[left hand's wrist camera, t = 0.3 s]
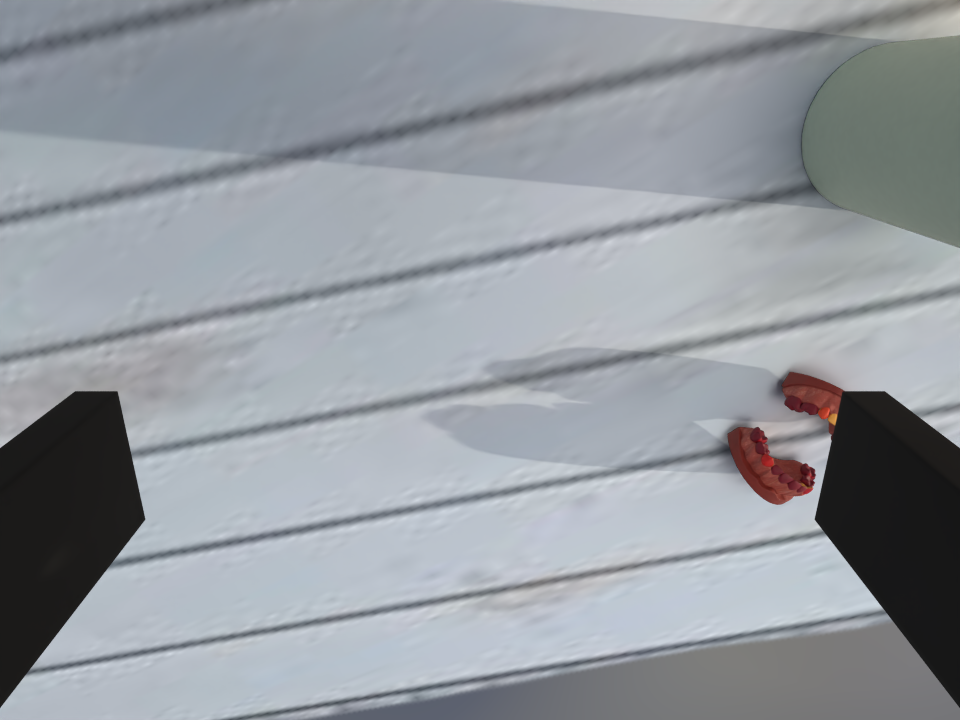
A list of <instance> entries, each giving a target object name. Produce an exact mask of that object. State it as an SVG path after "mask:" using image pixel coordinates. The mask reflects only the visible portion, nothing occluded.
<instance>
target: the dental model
mask: <svg viewBox="0 0 960 720" xmlns="http://www.w3.org/2000/svg"><path fill="white" fill-rule="evenodd" d="M782 387H783V388H782V391H783V393H784V395H785V397H786V400H785V403H784V404H785V406H787V407H788V408H789V409H791V410H795V411H796V412H803V411H805V412H807V413H809V415H816V414H817V413H818V415H819V416H820V417H821V419H826V418H828V421H829V433H830V434H831V435H832V436H831V440H832V437H833V433H834V428H835V424H836V419H837V414H838V410H839V405H840V401H841V396H842V391H843V390H842V389H840V388H838V387H836V386H834V385H832V384H830V383H828V382H825V381H823V380H820V379H817V378H814V377H811V376H808V375H804V374H800V373H794V372H790V373H789V374H788V376H787V377H786V379H785V381H784V382H783V384H782ZM767 440H768V438H767V437H765V435H764V431H762V430H760V428H759V427H756V428H746V427H738V428H736V429H735V430H733V431H732V432H730V433H728V442H729V447H730V450H731V453H732V456H733V459H734V461H735V463H736V466H737V468H738V469H739V471H740V473H741V474H742V476H743V478H744V479H745V480H746V482H747V483H748V484H749V485H750V486H751V488H752V489H753V490H754V491H755V492H756V493H757V494H758V495H759V496H761V497H762V498H763V499H765V500H766V501H768V502H770V503H772V504H776V505H780V504H783V503H785V502H787V501H789V500H790V499H792V498H793V497H794V496H802V495H804V494H808V493H809V492H811V491H812V490H813V486H814V484H815V482H814V481H813V480H814V479H815V476H816V474H815V469H813V468H812V467H809V466H808V464H806V463H805V464H802V463H800V462H798V461H795V460H779V459H775V458H772V457H771V456H769V455H768V454H769V453H770V451H769V450H768V445H767V444H764V443H766V442H767Z"/></svg>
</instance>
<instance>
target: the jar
mask: <svg viewBox="0 0 960 720" xmlns="http://www.w3.org/2000/svg"><path fill="white" fill-rule="evenodd" d="M802 157H803V162H804V167H805V169H806V172H807V175H808V177H809V179H810V181H811V182H812V184H813V186H814V187H815V188H816V190H817V191H818V192H819V193H820V194H821V195H822V196H823V197H824V198H825V199H827V200H828V201H830V202H831V203H833V204H835V205H837V206H839V207H841V208H844V209H847V210H849V211H852V212H855V213H858V214H861V215H864V216H867V217H870V218H873V219H876V220H879V221H882V222H885V223H888V224H891V225H894V226H897V227H900V228H902V229H905V230H908V231H911V232H914V233H917V234H920V235H923V236H926V237H929V238H932V239H935V240H938V241H941V242H944V243H947V244H950V245H953V246H956V247H958V248H960V36H950V37H941V38H931V39H921V40H911V41H902V42H893V43H886V44H882V45H878V46H875V47H872V48H870V49H867V50H865V51H863V52H861V53H859V54H857V55H856V56H854V57H852V58H851V59H849V60H848V61H847V62H845V63H844V64H843V65H841V66H840V67H839V68H838V69H837V70H836V71H835V72H834V73H833V74H832V75H831V76H830V77H829V78H828V79H827V80H826V82H825V83H824V84H823V86H822V87H821V88H820V90H819V91H818V93H817V95H816V96H815V98H814V100H813V102H812V104H811V106H810V108H809V111H808V113H807V116H806V120H805V123H804V128H803V133H802Z"/></svg>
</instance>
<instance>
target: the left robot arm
mask: <svg viewBox="0 0 960 720" xmlns="http://www.w3.org/2000/svg"><path fill="white" fill-rule="evenodd" d="M144 521H145V516H144V511H143V507H142V502H141V497H140V493H139V488H138V484H137V479H136V474H135V470H134V465H133V461H132V456H131V451H130V447H129V442H128V437H127V433H126V428H125V424H124V419H123V414H122V410H121V405H120V401H119V396H118V391H75V392H74V393H72V394H71V395H70V396H69V397H67V398H66V399H65V400H63V401H62V402H61V403H59V404H58V405H57V406H55V407H54V408H53V409H51V410H50V411H49V412H47V413H46V414H45V415H43V416H42V417H41V418H39V419H38V420H37V421H35V422H34V423H33V424H32V425H30V426H29V427H28V428H26V429H25V430H24V431H22V432H21V433H20V434H18V435H17V436H16V437H14V438H13V439H12V440H10V441H9V442H8V443H6V444H5V445H4V446H2V447H1V448H0V707H1V706H2V705H3V704H4V702H5V701H6V700H7V698H8V697H9V696H10V694H11V693H12V692H13V691H14V689H15V688H16V687H17V685H18V684H19V683H20V681H21V680H22V679H23V678H24V676H25V675H26V674H27V672H28V671H29V670H30V668H31V667H32V666H33V665H34V663H35V662H36V661H37V659H38V658H39V657H40V656H41V654H42V653H43V652H44V650H45V649H46V648H47V646H48V645H49V644H50V643H51V641H52V640H53V639H54V637H55V636H56V635H57V633H58V632H59V631H60V630H61V628H62V627H63V626H64V624H65V623H66V622H67V620H68V619H69V618H70V617H71V615H72V614H73V613H74V611H75V610H76V609H77V607H78V606H79V605H80V604H81V602H82V601H83V600H84V598H85V597H86V596H87V595H88V593H89V592H90V591H91V589H92V588H93V587H94V585H95V584H96V583H97V582H98V580H99V579H100V578H101V576H102V575H103V574H104V572H105V571H106V570H107V569H108V567H109V566H110V565H111V563H112V562H113V561H114V559H115V558H116V557H117V556H118V554H119V553H120V552H121V550H122V549H123V548H124V546H125V545H126V544H127V543H128V541H129V540H130V539H131V537H132V536H133V535H134V534H135V532H136V531H137V530H138V528H139V527H140V526H141V524H142V523H143V522H144ZM815 521H816V522H817V523H818V524H819V526H820V527H821V528H822V530H823V531H824V532H825V534H826V535H827V536H828V537H829V539H830V540H831V541H832V543H833V544H834V545H835V546H836V548H837V549H838V550H839V552H840V553H841V554H842V556H843V557H844V558H845V559H846V561H847V562H848V563H849V565H850V566H851V567H852V569H853V570H854V571H855V572H856V574H857V575H858V576H859V578H860V579H861V580H862V582H863V583H864V584H865V585H866V587H867V588H868V589H869V591H870V592H871V593H872V595H873V596H874V597H875V598H876V600H877V601H878V602H879V604H880V605H881V606H882V607H883V609H884V610H885V611H886V613H887V614H888V615H889V617H890V618H891V619H892V620H893V622H894V623H895V624H896V626H897V627H898V628H899V630H900V631H901V632H902V633H903V635H904V636H905V637H906V639H907V640H908V641H909V643H910V644H911V645H912V646H913V648H914V649H915V650H916V652H917V653H918V654H919V655H920V657H921V658H922V659H923V661H924V662H925V663H926V665H927V666H928V667H929V669H930V670H931V671H932V672H933V674H934V675H935V676H936V678H937V679H938V680H939V681H940V683H941V684H942V685H943V687H944V688H945V689H946V691H947V692H948V693H949V694H950V696H951V697H952V698H953V700H954V701H955V702H956V704H957V705H958V706H959V707H960V448H959V447H958V446H956V445H955V444H954V443H952V442H951V441H950V440H948V439H947V438H946V437H944V436H943V435H942V434H940V433H939V432H938V431H936V430H935V429H934V428H932V427H931V426H930V425H928V424H927V423H926V422H925V421H923V420H922V419H921V418H919V417H918V416H917V415H915V414H914V413H913V412H911V411H910V410H909V409H907V408H906V407H905V406H903V405H902V404H901V403H899V402H898V401H897V400H895V399H894V398H893V397H891V396H890V395H889V394H888V393H886V392H885V391H842V396H841V401H840V405H839V410H838V414H837V419H836V424H835V428H834V433H833V437H832V442H831V447H830V451H829V456H828V461H827V465H826V470H825V474H824V479H823V484H822V488H821V493H820V497H819V502H818V507H817V511H816V516H815Z"/></svg>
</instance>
